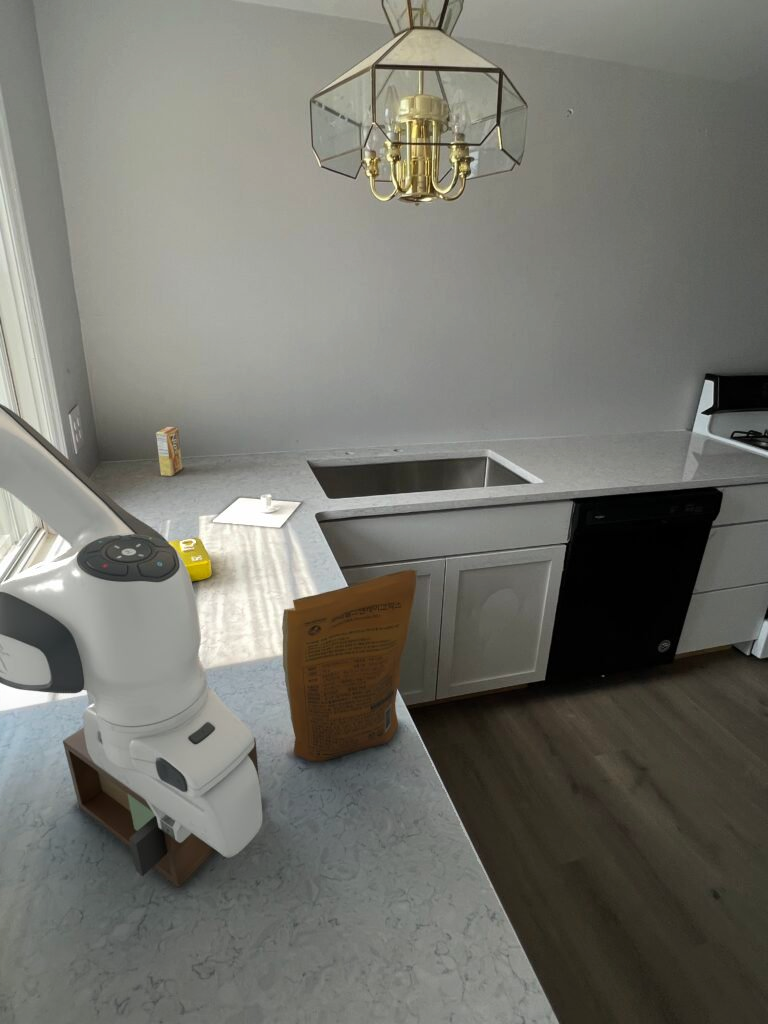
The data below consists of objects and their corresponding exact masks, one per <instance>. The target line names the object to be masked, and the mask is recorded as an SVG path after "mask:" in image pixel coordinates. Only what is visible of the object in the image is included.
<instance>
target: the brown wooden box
mask: <svg viewBox="0 0 768 1024" xmlns="http://www.w3.org/2000/svg"><path fill="white" fill-rule="evenodd" d="M254 741H255V745H254V748H253V749H252V750H251V751H250V752H249V754H248V756H249V758H250V759H251V760H252V762H253V764H254V766H255V768H256V771H257V775H258V779H259V780H260V778H259V777H260V776H259V765H258V753H257V751H258V750H257V740H256V737H254ZM62 745H63V749H64V752H65V756H66V760H67V765H68V768H69V773H70V776H71V780H72V784H73V788H74V792H75V797H76V800H77V805H78V808H79V809H81V811H83V812H84V813H86V814H87V815H88V816H89V817H90V818H92V819H93V820H94V821H95V822H97V823H98V824H99V825H100V826H101V827H103V828H104V829H105V830H106V831H108V832H109V833H110V834H111V835H113V836H114V837H115V838H116V839H118V840H119V841H120V842H121V843H122V844H124V845H125V846H126V847H128V849H130V850H131V851H132V849H131V844H130V839H129V838H130V837H131V836H132V835H133V834H134V833H136V832H137V830H135V829H134V824H133V819H132V814H131V809H130V804H129V799H128V794H129V795H130V796H132V797H133V798H134V799H136V800H137V801H139V802H140V803H141V804H143V805H144V806H145V807H147V808H148V809H149V810H151V808H150V806H149V805H148V803H147V801H146V800H145V799H144V798H142V797H141V796H140V795H138V794H137V793H135V792H134V791H133V790H131V789H130V788H128V787H127V786H126V785H124V784H123V783H121V782H120V781H119V780H117V779H116V778H114V777H113V776H112V775H110V774H109V773H107V772H106V771H105V770H103V769H102V768H100V767H99V766H98V765H96V764H95V763H94V762H93V760H92V759H91V757H90V755H89V753H88V750H87V746H86V740H85V733H84V726H83V727H81V728H80V729H79V730H77V731H75V732H74V733H72V734H71V735H69V736H68V737H66V738H64V739H63V740H62ZM127 793H128V794H127ZM151 811H152V810H151ZM152 812H153V811H152ZM164 835H165V841H166V846H167V852H168V854H166V855H165V856H164V857H163V858H162V859H161V860H160V861H159V862H158V863H157V864H156V865H155V866H154V867H153V868H154V869H155V870H156V871H157V872H158V873H160V874H161V875H162V876H163V877H164V878H166V879H167V880H168V881H169V882H170V883H172V884H173V885H174V886H176V887H177V888H178V889H179V888H180V887H181V886H182V885H183V884H184V883H185V882H186V881H187V880H188V879H189V878H190V877H191V876H192V875H193V874H194V873H195V872H196V871H197V870H198V868H199V867H201V866H202V865H203V864H204V863H205V862H206V860H208V858H210V857H211V855H212V854H214V852H215V851H216V850H215V849H214V848H212V847H211V846H209V845H208V844H207V843H205V842H204V841H202V840H201V839H200V838H198V837H197V836H195V835H194V834H193V833H191V834H190V835H189V836H188V837H187V838H186V839H185V840H184V841H183V842H181V843H179V842H178V841H176V840H175V839H174V838H173V837H171V836H170V835H168V834H167V833H166V832H164Z"/></svg>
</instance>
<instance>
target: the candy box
mask: <svg viewBox="0 0 768 1024" xmlns="http://www.w3.org/2000/svg"><path fill="white" fill-rule="evenodd" d="M155 436H156V444H157V452H158V453H157V454H158V461H159V470H160V476H162V477H163V476H166V477H172V476H174V475H175V474H176V473H178V472H180V471H182V469H183V463H182V454H181V445H180V444H181V443H180V435H179V427H175V426H167V427H164V428H162V429H161V430H159V431H157V432H155Z"/></svg>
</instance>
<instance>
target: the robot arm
mask: <svg viewBox="0 0 768 1024" xmlns="http://www.w3.org/2000/svg"><path fill="white" fill-rule="evenodd" d="M0 488H1V489H3V490H5V491H6V492H8V493H9V494H11V495H12V496H14V497H15V498H16V499H17V500H18V501H19V502H21V504H23V505H24V506H25V507H26V508H27V509H29V510H30V511H31V512H32V513H33V514H34V515H35V516H37V517H38V518H39V519H40V520H41V521H42V522H44V523H45V524H46V525H47V526H48V527H50V528H51V529H52V531H54V532H55V533H56V534H57V535H58V536H60V537H61V538H62V539H63V540H64V541H65V542H66V543H68V545H69V546H70V547H69V548H68V549H65V550H63V551H62V552H60V553H58V554H56V555H54V556H53V557H50V558H48V559H47V560H45V561H42V562H39V563H37V564H34V565H32V566H30V567H29V568H27V569H26V570H25V569H24V571H21V572H20V573H17V574H16V575H14V576H12V577H10V578H9V579H7V580H5V581H3V582H1V583H0V684H1V685H4V686H7V687H9V688H11V689H16V690H21V691H31V692H39V693H40V692H41V693H51V694H78V693H81V692H82V691H86V696H87V701H88V704H89V705H88V706H87V707H85V708H84V711H83V714H82V721H83V722H82V723H83V727H84V733H85V740H86V746H87V750H88V753H89V755H90V757H91V759H92V760H93V762H94V763H95V764H96V765H98V766H99V767H100V768H102V769H103V770H105V771H106V772H107V773H109V774H110V775H112V776H113V777H114V778H116V779H117V780H119V781H120V782H121V783H123V784H124V785H126V786H127V787H128V788H130V789H131V790H133V791H134V792H135V793H137V794H138V795H140V796H141V797H142V798H144V799H145V800H146V801H147V803H148V805H149V806H150V808H151V810H152V811H153V813H154V814H155V816H156V817H157V822H158V827H159V828H160V829H162V830H163V831H164V832H166V833H167V834H168V835H170V836H171V837H173V838H174V839H175V840H176V841H178V842H179V843H181V842H183V841H184V840H185V839H186V838H187V837H188V836H189V835H190V834H191V833H193V834H194V835H195V836H197V837H198V838H200V839H201V840H202V841H204V842H205V843H207V844H208V845H209V846H211V847H212V848H214V849H215V851H217V852H218V853H219V854H220V855H222V856H223V857H225V858H228V859H229V858H233V857H235V856H236V855H238V854H239V853H240V852H241V851H243V850H244V849H245V847H247V846H248V845H249V843H250V842H251V841H252V840H253V839H254V838H255V837H256V835H257V834H258V832H259V831H260V829H261V828H262V825H263V805H262V804H263V803H262V794H261V793H262V792H261V786H260V778H259V779H258V776H259V774H258V775H257V771H256V768H255V766H254V764H253V762H252V760H251V759H250V758H249V756H248V754H249V752H250V751H251V750H252V749H253V748H254V745H255V741H254V738H255V735H254V732H253V730H252V729H251V728H250V727H249V726H248V725H247V724H246V723H245V722H243V720H241V719H240V718H239V717H238V716H237V715H236V714H235V713H233V711H231V709H230V708H229V707H228V706H227V705H226V704H225V703H224V702H223V701H222V700H221V698H220V697H219V696H218V694H217V693H216V691H215V690H214V689H213V688H212V687H211V686H209V685H208V679H207V672H206V670H205V667H204V664H203V663H202V661H201V660H200V656H199V654H200V647H201V644H202V632H201V625H200V623H201V622H200V617H199V610H198V604H197V598H196V594H195V589H194V586H193V582H191V579H190V576H189V573H188V570H187V568H186V566H185V564H184V562H183V560H182V558H181V557H180V555H179V553H178V552H177V550H176V549H175V548H174V547H173V546H172V545H170V544H169V543H168V542H169V541H168V540H167V539H166V538H165V537H164V536H163V535H162V534H161V533H160V532H158V531H157V530H156V529H154V528H153V527H151V526H150V525H148V524H147V523H145V522H144V521H142V520H140V519H139V518H137V517H135V516H134V515H132V514H131V513H130V512H128V511H127V510H125V509H124V508H123V507H121V505H119V504H118V503H117V502H116V501H114V499H112V498H111V497H110V496H109V495H108V494H107V493H106V492H105V491H104V490H102V489H101V488H100V487H99V486H98V485H97V483H95V482H94V481H92V480H91V478H89V477H88V475H86V474H85V473H84V472H83V471H82V470H80V468H78V467H77V466H76V465H75V464H74V463H73V462H72V461H71V460H70V459H69V458H68V457H67V456H65V455H64V454H63V453H62V452H61V451H60V450H59V449H58V448H57V447H56V446H54V444H52V443H51V442H50V441H49V440H48V439H47V438H45V437H44V436H43V435H42V434H41V433H40V432H39V431H37V429H35V428H34V427H33V426H32V425H31V424H29V423H28V422H27V421H26V420H24V419H23V417H21V416H20V415H18V414H17V413H16V412H14V411H13V410H12V409H10V408H8V407H7V406H6V405H4V404H1V403H0Z"/></svg>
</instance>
